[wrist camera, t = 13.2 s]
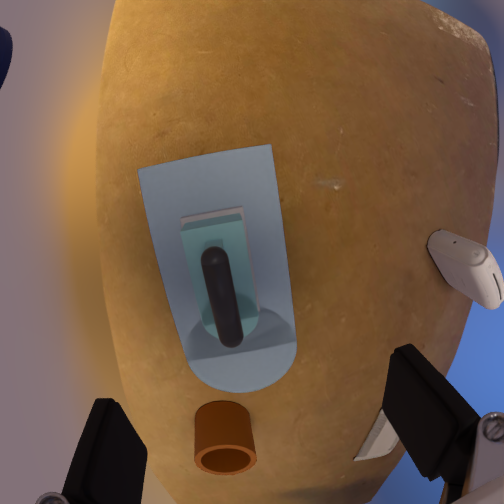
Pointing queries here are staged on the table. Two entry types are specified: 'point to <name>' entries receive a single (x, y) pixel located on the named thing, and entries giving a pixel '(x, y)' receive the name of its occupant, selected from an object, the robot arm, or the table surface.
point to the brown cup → (224, 439)
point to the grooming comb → (379, 439)
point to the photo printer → (468, 268)
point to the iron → (222, 272)
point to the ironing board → (262, 252)
